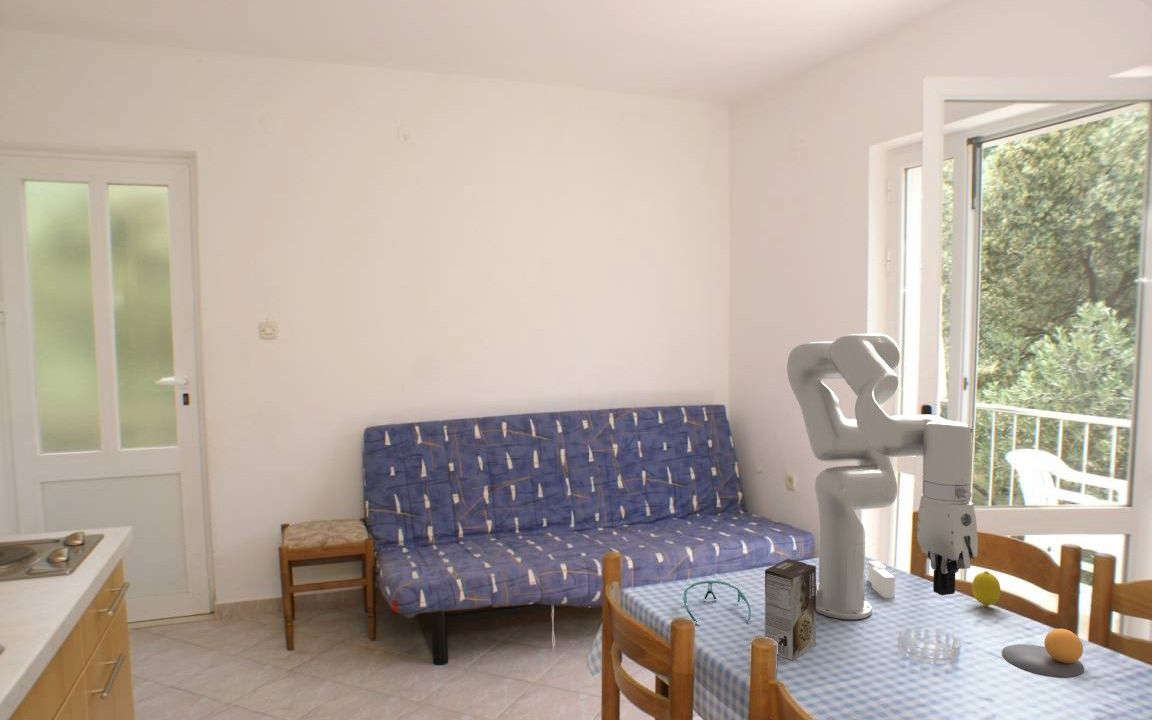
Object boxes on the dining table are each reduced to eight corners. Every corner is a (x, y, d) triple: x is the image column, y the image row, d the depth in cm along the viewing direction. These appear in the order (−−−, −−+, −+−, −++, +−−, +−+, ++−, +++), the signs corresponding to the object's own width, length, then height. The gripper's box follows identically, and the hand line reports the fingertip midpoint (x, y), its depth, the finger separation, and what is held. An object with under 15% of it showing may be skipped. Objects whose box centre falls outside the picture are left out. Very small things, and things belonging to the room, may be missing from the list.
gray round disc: (1008, 670, 135) (1009, 669, 135) (996, 641, 147) (996, 640, 147) (1093, 682, 130) (1093, 681, 130) (1073, 651, 142) (1073, 650, 142)
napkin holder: (900, 605, 167) (900, 580, 167) (848, 594, 174) (848, 570, 174) (915, 586, 179) (915, 562, 179) (866, 576, 186) (867, 554, 186)
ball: (1083, 625, 138) (1090, 656, 138) (1046, 621, 142) (1053, 651, 142) (1074, 640, 134) (1081, 672, 134) (1037, 635, 138) (1043, 666, 138)
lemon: (1003, 612, 161) (1004, 576, 161) (976, 610, 162) (977, 574, 162) (995, 603, 167) (995, 567, 166) (968, 601, 168) (968, 566, 167)
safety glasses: (739, 600, 171) (740, 579, 170) (757, 633, 156) (757, 611, 155) (678, 601, 170) (679, 580, 169) (690, 635, 155) (690, 612, 155)
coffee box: (787, 636, 150) (787, 557, 149) (817, 646, 145) (817, 565, 145) (763, 650, 144) (763, 568, 143) (793, 661, 139) (793, 576, 138)
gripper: (997, 499, 125) (994, 606, 126) (933, 481, 140) (931, 577, 141) (959, 502, 123) (957, 611, 124) (899, 483, 138) (897, 580, 139)
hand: (944, 592), depth 132 cm, fingers closed
